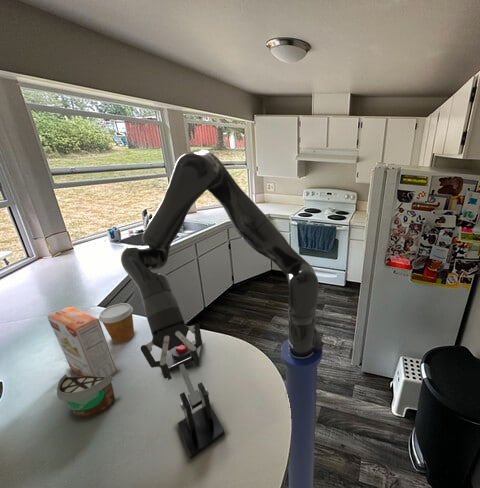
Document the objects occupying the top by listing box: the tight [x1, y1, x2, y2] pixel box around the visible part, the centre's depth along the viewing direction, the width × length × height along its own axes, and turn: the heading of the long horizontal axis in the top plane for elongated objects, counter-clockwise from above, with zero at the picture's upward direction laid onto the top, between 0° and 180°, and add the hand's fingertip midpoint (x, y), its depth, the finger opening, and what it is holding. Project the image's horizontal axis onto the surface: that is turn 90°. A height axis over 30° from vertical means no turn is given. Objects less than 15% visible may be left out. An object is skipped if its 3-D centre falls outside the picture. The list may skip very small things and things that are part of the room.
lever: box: [169, 357, 202, 411], centre depth 62 cm, size 12×6×2 cm, turn 44°
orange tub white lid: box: [98, 302, 135, 344], centre depth 91 cm, size 10×10×12 cm
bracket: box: [177, 381, 226, 460], centre depth 61 cm, size 10×8×13 cm
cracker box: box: [47, 305, 118, 377], centre depth 75 cm, size 14×6×21 cm, turn 67°
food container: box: [56, 373, 116, 420], centre depth 65 cm, size 12×6×10 cm, turn 92°
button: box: [176, 345, 188, 353], centre depth 83 cm, size 4×4×2 cm
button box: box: [166, 340, 204, 372], centre depth 84 cm, size 10×10×4 cm
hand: (183, 372), depth 64 cm, fingers closed on lever, 5 cm apart
